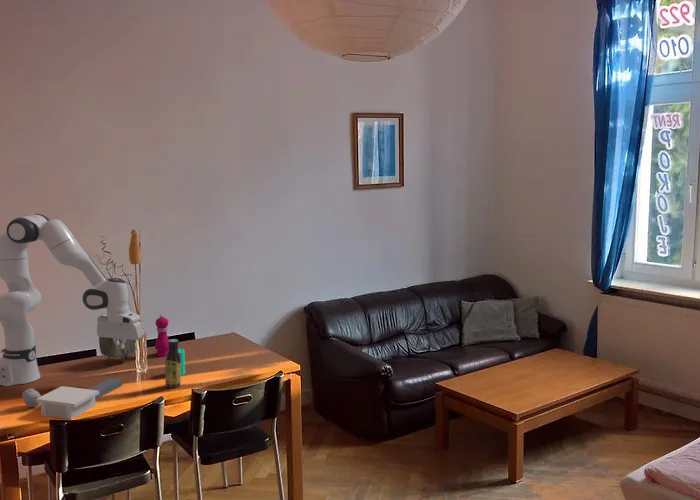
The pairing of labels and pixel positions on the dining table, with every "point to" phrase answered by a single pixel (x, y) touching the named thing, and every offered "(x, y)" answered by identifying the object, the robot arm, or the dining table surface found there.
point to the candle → (182, 360)
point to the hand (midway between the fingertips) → (120, 348)
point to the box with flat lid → (67, 402)
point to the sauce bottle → (173, 365)
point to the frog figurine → (31, 397)
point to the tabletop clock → (110, 348)
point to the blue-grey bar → (106, 387)
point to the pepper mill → (162, 337)
